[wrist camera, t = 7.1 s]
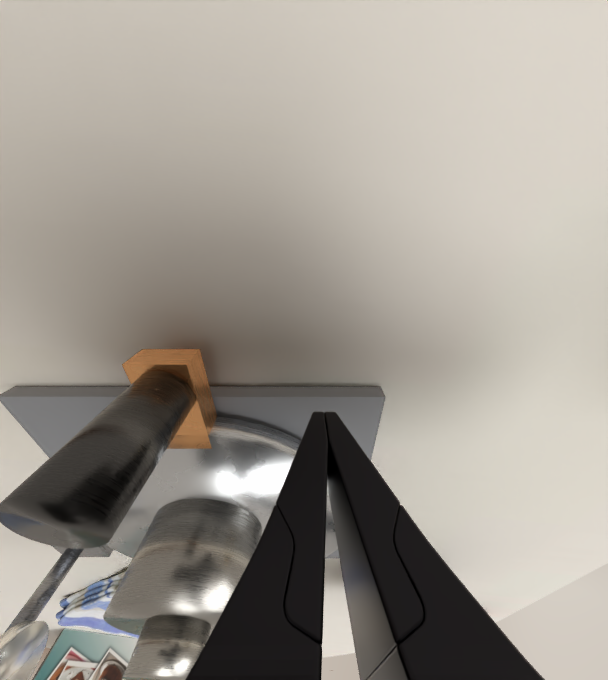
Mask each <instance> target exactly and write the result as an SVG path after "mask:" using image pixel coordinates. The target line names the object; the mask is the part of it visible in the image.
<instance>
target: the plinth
mask: <svg viewBox="0 0 608 680" xmlns="http://www.w3.org/2000/svg"><path fill="white" fill-rule="evenodd" d="M127 388H128V387H75V386H15V387H13V388H11V389H9V390H8V391H6V392H4V393H2V394H0V401H1V403H2V404H3V405H4V406H5V407H6V408H7V410H8V411H9V412H10V413H11V414H12V415H13V416H14V418H15V419H16V420H17V421H18V422H19V423H20V425H21V426H22V427H23V428H24V429H25V430H26V431H27V433H28V434H29V435H30V436H31V437H32V438H33V440H34V441H35V442H36V443H37V444H38V445H39V446H40V448H41V449H42V450H43V451H44V452H45V453H46V455H47V456H48V457H49V458H51V457H52V456H53V455H54V454H55V453H56V452H57V451H58V450H60V449H61V448H62V447H63V446H64V445H65V444H66V443H67V442H68V441H69V440H71V439H72V438H73V437H74V436H75V435H76V434H77V433H78V432H79V431H80V430H82V429H83V428H84V427H85V426H86V425H87V424H88V423H89V422H90V421H91V420H93V419H94V418H95V417H96V416H97V415H98V414H99V413H100V412H101V411H102V410H104V409H105V408H106V407H107V406H108V405H109V404H110V403H111V402H112V401H113V400H115V399H116V398H117V397H118V396H119V395H120V394H121V393H122V392H123V391H124V390H126V389H127ZM210 391H211V395H212V398H213V402H214V406H215V410H216V414H217V417H224V418H231V419H238V420H243V421H247V422H251V423H256V424H260V425H263V426H266V427H269V428H272V429H275V430H278V431H281V432H283V433H285V434H288V435H290V436H292V437H294V438H297V439H299V440H300V441H301V439H302V437H303V435H304V432H305V430H306V427H307V425H308V422H309V420H310V417H311V415H312V413H313V412H314V411H322V412H324V413H325V412H326V411H334V412H336V413H337V414H338V416H339V417H340V418H341V420H342V421H343V423H344V424H345V426H346V427H347V428H348V430H349V431H350V433H351V434H352V435H353V437H354V438H355V440H356V441H357V442H358V444H359V445H360V447H361V448H362V450H363V451H364V452H365V454H366V455H367V457H368V458H369V459H370V461H371V457H372V453H373V448H374V444H375V440H376V435H377V431H378V427H379V423H380V418H381V414H382V410H383V405H384V401H385V395H384V393H383V391H382V389H381V387H210ZM325 558H340V557H339V551H338V549H337V550H336V551H334V552H333V553H332V554H330V555H329V556H327V557H325Z"/></svg>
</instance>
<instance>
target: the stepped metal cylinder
mask: <svg viewBox="0 0 608 680" xmlns="http://www.w3.org/2000/svg"><path fill="white" fill-rule="evenodd" d="M261 534H262V525H261V523H260V521H259V520H258V519H257V517H256V516H254V515H253V514H252V513H251V512H249V511H248V510H246V509H244V508H242V507H239V506H237V505H234V504H231V503H228V502H224V501H219V500H213V499H201V498H195V499H183V500H178V501H174V502H171V503H168V504H166V505H164V506H163V507H161V508H160V509H159V510H158V511H157V513H156V514H155V516H154V518H153V520H152V522H151V524H150V526H149V528H148V530H147V532H146V534H145V536H144V538H143V539H142V541H141V543H140V545H139V547H138V549H137V551H136V553H135V555H134V557H133V559H132V561H131V563H130V565H129V566H128V568H127V570H126V572H125V574H124V576H123V578H122V580H121V582H120V584H119V586H118V588H117V590H116V592H115V594H114V595H113V597H112V599H111V601H110V603H109V605H108V607H107V609H106V611H105V613H104V615H103V618H104V620H105V621H106V622H107V623H108V624H109V625H111V626H113V627H115V628H117V629H119V630H122V631H125V632H128V633H132V634H136V635H140V636H139V638H138V641H137V643H136V646H135V648H134V651H133V653H132V656H131V658H130V661H129V663H128V666H127V668H126V671H125V673H124V676H123V679H124V680H185V679H186V678H187V676H188V674H189V672H190V671H191V669H192V667H193V665H194V664H195V662H196V660H197V658H198V657H199V655H200V653H201V651H202V649H203V648H204V646H205V644H206V642H207V640H208V638H209V636H210V635H211V633H212V631H213V629H214V627H215V625H216V623H217V621H218V619H219V618H220V616H221V614H222V612H223V610H224V608H225V606H226V604H227V603H228V601H229V599H230V597H231V595H232V593H233V591H234V589H235V587H236V586H237V584H238V582H239V580H240V578H241V576H242V574H243V572H244V571H245V569H246V567H247V565H248V563H249V561H250V559H251V557H252V555H253V553H254V551H255V549H256V547H257V545H258V542H259V540H260V538H261Z"/></svg>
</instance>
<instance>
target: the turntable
mask: <svg viewBox="0 0 608 680" xmlns="http://www.w3.org/2000/svg"><path fill="white" fill-rule="evenodd" d="M122 366H123V368H124V370H125V372H126V374H127V376H128V379H129V381H130V383H131V385H130V386H129V387H128V388H127V389H126V390H124V391H123V392H122V393H121V394H120V395H119V396H118V397H117V398H116V399H115V400H113V401H112V402H111V403H110V404H109V405H108V406H107V407H106V408H105V409H104V410H102V411H101V412H100V413H99V414H98V415H97V416H96V417H95V418H94V419H93V420H91V421H90V422H89V423H88V424H87V425H86V426H85V427H84V428H83V429H82V430H80V431H79V432H78V433H77V434H76V435H75V436H74V437H73V438H72V439H71V440H69V441H68V442H67V443H66V444H65V445H64V446H63V447H62V448H61V449H60V450H58V451H57V452H56V453H55V454H54V455H53V456H52V457H51V458H50V459H49V460H47V461H46V462H45V463H44V464H43V465H42V466H41V467H40V468H39V469H37V470H36V471H35V472H34V473H33V474H32V475H31V476H30V477H29V478H28V479H26V480H25V481H24V482H23V483H22V484H21V485H20V486H19V487H18V488H17V489H15V490H14V491H13V492H12V493H11V494H10V495H9V496H8V497H7V498H6V499H4V500H3V501H2V502H1V503H0V522H1V523H2V524H3V525H4V526H5V527H7V528H8V529H10V530H12V531H13V532H15V533H17V534H19V535H21V536H24V537H26V538H28V539H31V540H34V541H37V542H40V543H44V544H48V545H53V546H58V547H65V548H76V549H85V548H95V547H99V546H102V545H107V546H109V547H110V548H112V549H114V550H116V551H118V552H120V553H122V554H124V555H127V556H129V557H132V558H133V557H134V555H135V553H136V551H137V549H138V547H139V545H140V543H141V541H142V539H143V538H144V536H145V534H146V532H147V530H148V528H149V526H150V524H151V522H152V520H153V518H154V516H155V514H156V513H157V511H158V510H159V509H160V508H161V507H163V506H164V505H166V504H168V503H171V502H174V501H178V500H183V499H195V498H201V499H213V500H219V501H224V502H228V503H231V504H234V505H237V506H239V507H242V508H244V509H246V510H248V511H249V512H251V513H252V514H253V515H254V516H256V517H257V519H258V520H259V521H260V523H261V525H262V533H263V531H264V529H265V527H266V524H267V522H268V520H269V517H270V515H271V512H272V510H273V508H274V506H275V505H276V501H277V498H278V496H279V493H280V491H281V488H282V486H283V484H284V481H285V479H286V476H287V474H288V471H289V469H290V466H291V464H292V461H293V459H294V457H295V454H296V452H297V449H298V447H299V444H300V442H301V441H300V440H299V439H297V438H294V437H292V436H290V435H288V434H285V433H283V432H281V431H278V430H275V429H272V428H269V427H266V426H263V425H260V424H256V423H251V422H247V421H243V420H238V419H231V418H224V417H217V414H216V410H215V406H214V402H213V398H212V395H211V391H210V387H209V383H208V379H207V375H206V371H205V368H204V364H203V360H202V356H201V352H200V349H142V350H141V351H139V352H138V353H137V354H135V355H134V356H133V357H131V358H130V359H129V360H127V361H126V362H125V363H124V364H122ZM261 536H262V534H261ZM337 549H338V546H337V540H336V534H335V528H334V522H333V516H332V510H331V504H330V498H329V492H328V486H327V508H326V539H325V557H327V556H329V555H330V554H332V553H333V552H334V551H336V550H337Z"/></svg>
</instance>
